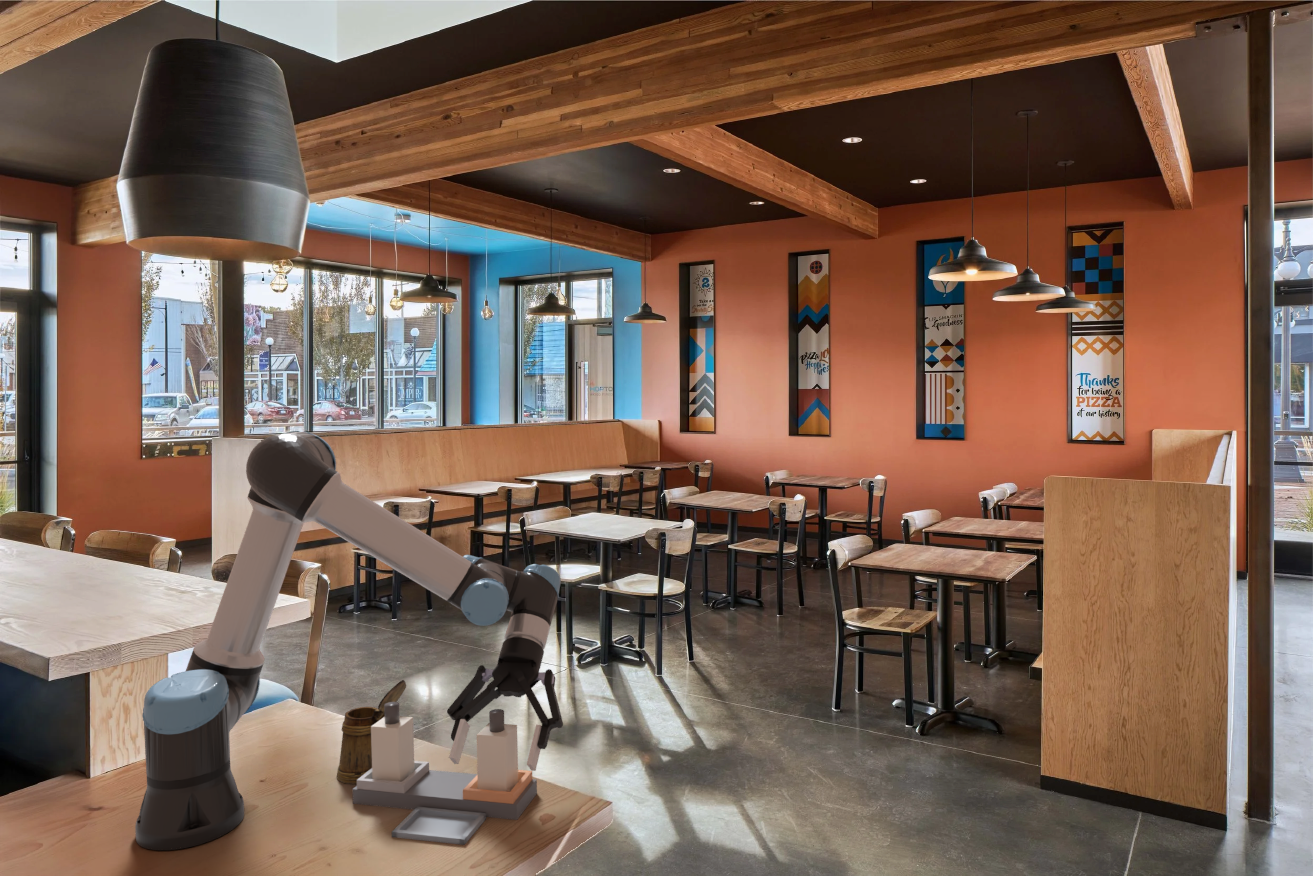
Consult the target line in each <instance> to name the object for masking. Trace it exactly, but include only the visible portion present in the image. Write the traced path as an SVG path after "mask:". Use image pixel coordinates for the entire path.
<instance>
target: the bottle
mask: <svg viewBox="0 0 1313 876" xmlns="http://www.w3.org/2000/svg"><path fill="white" fill-rule="evenodd" d="M488 715H489V717H488V721H489V722H488V723H487V724H486V725H485V726H484V727H483V728H481V730H479V732H478V733H477V734H476V765H477V766H476V767H477V768H476V769H477V770H476V771H477V773H476V774H477V775H478V789H484V790H495V791H506V792H510V791H511V790H512V789H513V788H514V787H515V785H516V784H517V783H518V770H519V759H518V755H519V754H518V753H519V751H518V749H519V748H518V747H519V746H518V725H517V724H510V723H509V724H508V723H505V710H504V709H503V708H495V709H491V710H489V713H488Z"/></svg>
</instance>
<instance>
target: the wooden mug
mask: <svg viewBox="0 0 1313 876" xmlns="http://www.w3.org/2000/svg"><path fill="white" fill-rule="evenodd" d="M406 688H407V684H406V681H405V680H404V679H402V680H400V681H399V682H397V683H396V684H395V685H394V686H393V687H392V688H390V690H389V691H387V693H386V694H385V695H384V697H383V698H382V699H381V700H380V702H379V704H378V707H373V706H361V707H357V708H352V709H350V710H348V711H346V712H345V714H344V720H343V721H342V724H341V725H342V726H341V731H342V738H341V748H340V755H339V763H338V766H337V772H336V778H337V781H339V782H340V783H343V784H350V785H351V784H352V785H357V779H359V778H360V777H361V776H362V775H364V774H365V773H366V772H367V771H369V770H370V769H371V768H372V747H371V726H372V725H374V724H375V723H376V722H378V721H379V720H381V719H382V718H383V717H385V712H384V705H385V704H386V703H389V702H398V701H399V699H400V698H401V696H402V695H403V693H404V692H405V690H406Z"/></svg>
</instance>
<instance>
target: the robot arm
mask: <svg viewBox="0 0 1313 876" xmlns="http://www.w3.org/2000/svg"><path fill="white" fill-rule="evenodd" d="M333 450H334V449H332V447H331V445H330V444H329V443H328V442H327V441H326V440H325V439H323V438H322V437H320V436H318V435H317V434H314V433H312V432H306V431H305V430H304V431H303V430H291V431H288V432H285V433H278V434H277V433H276V434H274V435H270V436H268V437H266V438H264V439H262V440H261V441H259V442H258V443H257V444H256V445H255V446H254V447H253V448H252V449H251V451H250V453H249V455H248V457H247V461H246V465H245V466H246V469H245V473H246V478H247V481H248V483H249V486H250V489H249V492H248V494H247V497H246V498H247V500H248V503H250V504H251V507H252V512H251V515H250V516H249V520H248V522H247V526H246V528H245V530H244V534H243V538H242V540H241V542H240V546H239V549H238V551H237V554H236V557H235V559H234V563H233V565H232V568H231V571H230V573H229V577H228V579H227V582H226V584H225V585H226V586H225V588H224V590H223V593H222V596H221V599H220V601H219V604H218V607H217V611H216V613H215V616H214V618H213V622H212V625H211V627H210V629H209V633H208V636H207V638H205V639H203V640H201V641H199V642H197V643H196V644H195V645H194V646H193V648H192V652H191V655H190V658H189V660H188V663H187V666H186V668H185V671H182V672H178V673H175V674H172V675H171V676H170V677H164V678H162V679H160V680H159V681H157V682H155V683H154V684H153V685H152V686H151V687H150V688H149V689H148V690H147V691H146V693H145V695H144V699H143V709H142V721H143V728H144V729H143V731H144V749H145V750H144V751H145V752H144V754H145V768H146V769H145V770H146V771H145V772H146V789H145V793H144V796H143V798H142V803H141V806H140V809H139V814H138V817H137V818H136V822H135V826H134V827H135V828H134V829H135V842H136V843H137V844H138V846H140V847H141V848H144V849H147V850H153V851H174V850H175V851H176V850H182V849H187V848H191V847H195V846H200V845H202V844H203V845H204V844H205V843H209V842H211V841H214V840H215V839H219V838H220V837H222V836H225V835H226V834H228V833H230V832H231V831H232V830H234V829H235V828H237V827H238V825H239V824H240V823H242V821H243V819H244V818H245V801H244V798H243V796H242V794H241V793H240V792H239V789H238V786H237V782H236V780H235V777H234V774H233V772H232V770H231V748H230V747H231V745H230V743H231V741H230V732H231V730H232V729H234V727H235V726H236V724H237V723H238V722H239V720H240V719H241V718H242V716H244V715H245V713H247V711H249V709H250V707H251V706H252V705H253V704H254V703H255V700H256V699H257V696H258V693H259V690H260V685H261V678H260V676H261V674H262V671H263V670H262V669H263V667H264V663H265V661H266V658H265V655H264V654H263V652H262V650H261V649H260V648H261V646H262V643H263V639H264V636H265V634H266V631H267V629H268V626H269V622H270V620H271V617H272V614H273V611H274V609H275V606H276V603H277V600H278V597H279V593H280V592H281V589H282V587H283V583H284V580H285V578H286V575H287V572H288V569H289V566H290V563H291V560H292V557H293V555H294V552H295V549H296V546H297V543H298V540H299V537H300V534H301V532H302V528H303V526H304V525H305V523H310V522H315V523H316V524H318V525H320V526H322V528H325V529H326V530H327V531H330V532H332V533H333V534H335V535H337V536H338V537H340V538H342V539H343V540H345V541H346V542H348V543H350V544H351V545H353V546H355V547H357V548H358V549H360V550H362V551H363V552H365V553H366V554H368V555H370V556H372V557H373V558H375V559H377V560H378V561H380V562H381V563H383V564H385V565H386V566H389V567H390V568H391V569H393V570H394V571H396V572H398V573H400V574H402V575H403V576H405V577H406V578H409V580H411V581H413V582H415V583H416V584H418V585H419V586H421V587H423V588H425V589H426V590H428V591H430V592H431V593H433V594H434V595H436V596H438V597H439V598H442V599H443V600H445V601H446V602H447V603H449V604H451V605H452V606H454V607H456V608H457V609H459V610H460V611H461V612H462V614H463V615H464V616H465V617H466V619H467V620H468V621H469V622H470V623H472V624H474V625H476V626H481V627H483V626H484V627H485V626H490V625H491V626H492V625H493V624H495V623H497V622H499V621H500V620H501V619H502V618H503V617H504V615H505V613H506V611H508V612H511V614H510V618H509V622H508V625H507V629H506V631H505V634H504V640H503V642H502V645H501V649H500V652H499V656H498V659H497V664H496V666H495V667H494V669H491V668H486V667H485V665H483V664H482V665H479V666H478V667H477V670H476V672H475V675H474V676H473V677H472V679H471V680H470V682H469V683H468V684H467V685H466V687H465V688H464V689H463V690H462V691H461V692H460V694H459V695H458V696H457V697H456V698H455V700H454V701H453V702H452V703H451V705H450V706H449V707H448V708H447V710H446V714H447V715H448V716H449V717H450V719H451V720H452V721H454V724H453V728H452V731H451V733H450V739H451V740H452V741H453V743H452V746H451V749H450V753H449V756H448V758H449V759H450V761H452V763H453V764H454V765H459V764H460V761H461V759H462V754H463V751H464V747H465V745H466V740H467V737H468V733H469V732H470V731H469V730H470V727H471V726H470V724H469V723H468V722H469V721H471V720H472V719H473V718H474V717H475V716H476V715H478V714H479V713H480V712H481V711H483V709H485V708H486V707H487V706H488V705H489V704H490V703H491V702H492V701H493V702H494V700H497V699H498V698H500V697H501V696H503V697H512V696H513V697H516V698H522V697H523V696H525V695H526V697H527V699H528V701H529V703H530V705H531V706H532V708H533V710H534V713H535V714H536V716H537V717H538V719H539V721H540V723H541V724H536V725H535V728H534V733H533V737H532V741H531V745H530V749H529V753H528V758H527V761H526V765H527V766H528V768H529V769H530V771H532V772H533V771H535V772H536V771H537V766H538V763H539V758H540V754H541V750H546V748H547V746H548V743H549V738H550V733H551V731H552V730H554V729H556V728H557V729H561V728H563V726H564V722H563V721H564V720H563V717H562V713H561V710H560V706H559V702H558V697H557V694H556V690H555V685H556V676H555V675H554V673H553V671H552V669H549V668H548V669H546V670H545V671H544V672H543V671H542V672H540V669H541V666H542V663H543V658H544V654H545V651H544V650H545V648H546V646H547V642H548V637H549V633H550V630H551V625H552V621H553V618H554V614H555V611H556V606H557V603H558V600H559V597H560V596H559V594H560V587H561V584H562V583H561V582H562V579H561V576H560V573H559V572H558V571H557V570H555V569H554V568H553V567H551V566H549V565H547V564H537V563H533V564H530V565H527V566H526V567H525V569H523V571H522V570H521V571H519V570H517V569H513V568H510V567H507V566H505V565H502V564H499V563H496V562H493V561H491V560H488V559H485V558H484V557H481V556H480V557H478V556H474V555H471V554H465V555H463V556H462V555H461V554H459V553H457V552H456V551H454V550H453V549H451V548H449V547H448V546H446V545H445V544H443V543H441V542H439V541H438V540H436V539H435V538H433V537H432V536H430V535H428V534H426V533H425V532H424V531H422V530H420V529H419V528H418V527H416V526H414V525H412V524H411V523H409V522H407V521H406V520H404V519H402V518H401V517H399V516H398V515H396V514H394V513H393V512H391V511H390V510H388V509H386V508H385V507H383V506H382V505H380V504H378V503H376V502H375V501H374V500H371V499H370V498H368V497H367V496H366V495H364V494H362V493H361V492H358V491H357V490H356V489H355V488H352V487H351V486H349V485H348V484H346V483H344V482H343V481H342V480H343V479H342V477H341V473H340V472H339V471H337V459H336V455H335V453H334V451H333ZM491 678H493V680H492V681H491V682H489V681H490V679H491ZM488 682H489V683H488ZM539 682H540V683H541V684H542V685H543V686H544V690H545V693H546V698H547V703H548V706H549V710H550V714H551V717H549V718H548V717H547V714H546V713H545V710H544V709H543V707H542V705H541V703H540V702H539V700H538V698H537V696H536V694H535V693H534V691H533V689H532V688H534V687H535V685H537V684H538V683H539ZM486 683H488V684H487V685H486ZM485 685H486V687H485V689H484V690H482V689H483V687H484V686H485ZM479 692H480V693H479Z"/></svg>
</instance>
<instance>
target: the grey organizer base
mask: <svg viewBox="0 0 1313 876" xmlns="http://www.w3.org/2000/svg"><path fill="white" fill-rule="evenodd" d="M414 770H415V771H414V772H413V773H411V774H410V775H409V776H408V777H407V778H406V779H405V780H404V781H402V782H398V781H387V780H376V779H372V768H371V769H370V770H369V771H367V772H366V773H365V774H364V775H362V776H361V777H360V778H359V779H357V784H356V785H355V787H353V788H352V791H351V792H352V804H356V805H362V806H363V805H364V806H374V807H385V808H393V809H403V810H404V809H405V810H412V811H413V810H414V809H415V808H416V807H427V808H437V809H447V810H457V811H467V812H477V813H486V818H493V819H502V820H503V819H505V820H515V821H518V820H519V818H520V816H521V815H522V814H523V813H524V811H525V810H526V809H527V808H528V806H529V805H530V804H531V803H532V801H533V799H534V798H535V797H536V796H537V794H538V782H537V781H538V780H537V779H536V778H533V771H532V770H525V769H518V783H517V784H516V785H515V787H514V788H513V789H512V790H511V791H510V792H506V791H495V790H484V789H478V775H477V773H467V772H456V771H448V770H447V771H446V770H437V769H434V770H433V769H430V761H420V760H414Z"/></svg>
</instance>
